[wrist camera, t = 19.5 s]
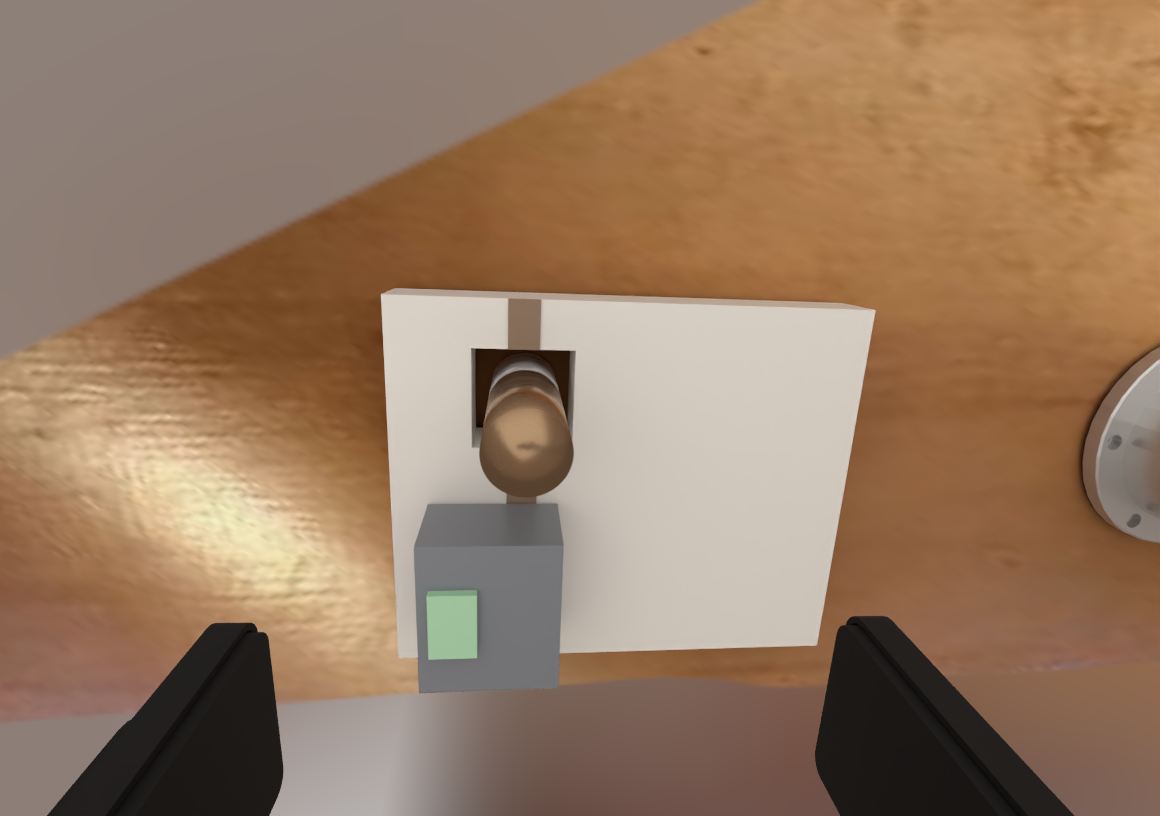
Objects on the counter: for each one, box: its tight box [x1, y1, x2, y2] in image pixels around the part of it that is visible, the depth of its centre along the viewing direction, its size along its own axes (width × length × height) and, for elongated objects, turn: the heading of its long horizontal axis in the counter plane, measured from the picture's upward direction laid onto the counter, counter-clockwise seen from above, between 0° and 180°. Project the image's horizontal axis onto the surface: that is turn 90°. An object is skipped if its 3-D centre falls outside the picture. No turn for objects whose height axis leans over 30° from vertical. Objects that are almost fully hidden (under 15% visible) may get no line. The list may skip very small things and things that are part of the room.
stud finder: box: [414, 504, 564, 693], centre depth 27 cm, size 6×7×4 cm
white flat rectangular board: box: [381, 288, 875, 658], centre depth 30 cm, size 22×18×3 cm
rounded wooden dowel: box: [479, 352, 574, 498], centre depth 25 cm, size 3×3×10 cm
